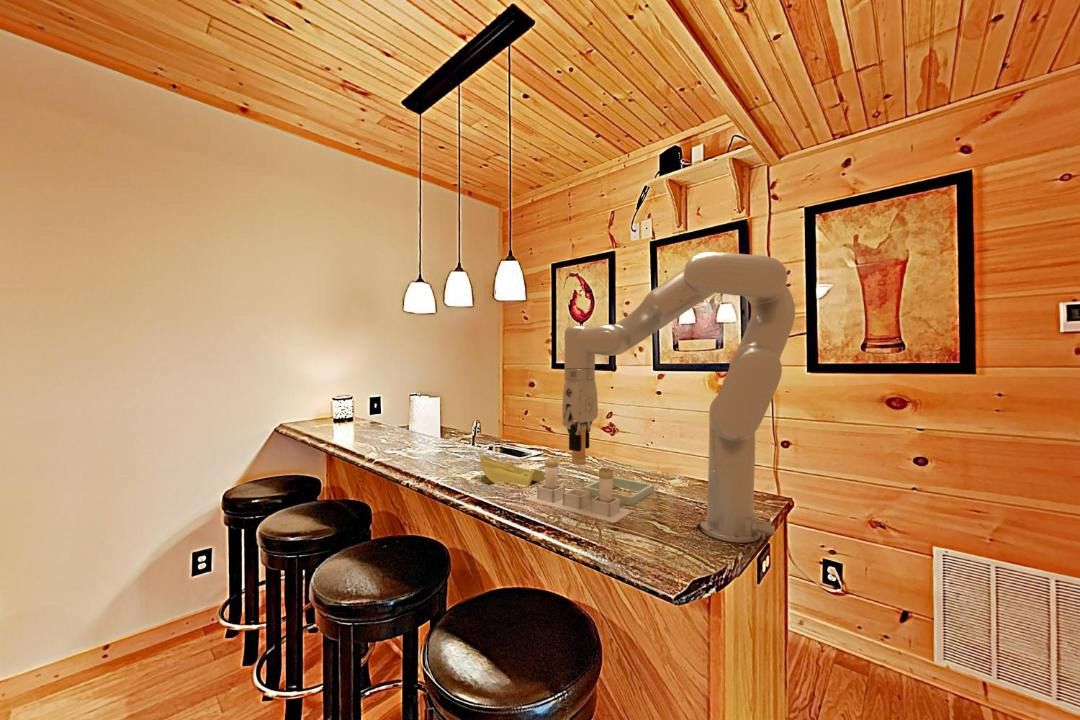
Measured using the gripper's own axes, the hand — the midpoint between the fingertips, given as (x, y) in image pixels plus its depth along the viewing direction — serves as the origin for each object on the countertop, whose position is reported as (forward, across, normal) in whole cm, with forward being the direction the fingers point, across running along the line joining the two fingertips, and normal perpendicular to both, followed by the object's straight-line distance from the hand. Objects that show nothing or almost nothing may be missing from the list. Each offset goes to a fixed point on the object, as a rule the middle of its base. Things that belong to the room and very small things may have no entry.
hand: (579, 448), depth 116 cm
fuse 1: (+14, 0, +8) cm, 16 cm away
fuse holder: (+16, 0, 0) cm, 16 cm away
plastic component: (+16, +8, +29) cm, 34 cm away
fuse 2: (+14, 0, -8) cm, 16 cm away
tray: (+16, +15, -4) cm, 22 cm away
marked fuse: (+4, 0, 0) cm, 4 cm away
